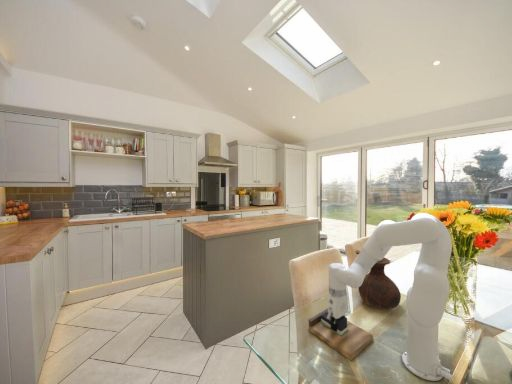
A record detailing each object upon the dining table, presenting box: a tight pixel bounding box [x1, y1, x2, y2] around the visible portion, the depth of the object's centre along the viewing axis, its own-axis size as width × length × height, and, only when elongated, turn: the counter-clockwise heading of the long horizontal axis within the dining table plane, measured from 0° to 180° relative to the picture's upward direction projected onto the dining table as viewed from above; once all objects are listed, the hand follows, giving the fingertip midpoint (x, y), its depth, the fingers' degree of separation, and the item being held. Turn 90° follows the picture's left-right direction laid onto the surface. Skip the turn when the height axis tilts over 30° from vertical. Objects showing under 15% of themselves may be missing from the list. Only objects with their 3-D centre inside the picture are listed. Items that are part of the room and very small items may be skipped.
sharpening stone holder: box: [308, 307, 374, 361], centre depth 101 cm, size 22×18×6 cm
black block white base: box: [321, 312, 348, 335], centre depth 103 cm, size 11×5×6 cm, turn 36°
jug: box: [355, 249, 402, 311], centre depth 124 cm, size 22×22×30 cm
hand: (337, 326), depth 102 cm, fingers closed on black block white base, 5 cm apart
